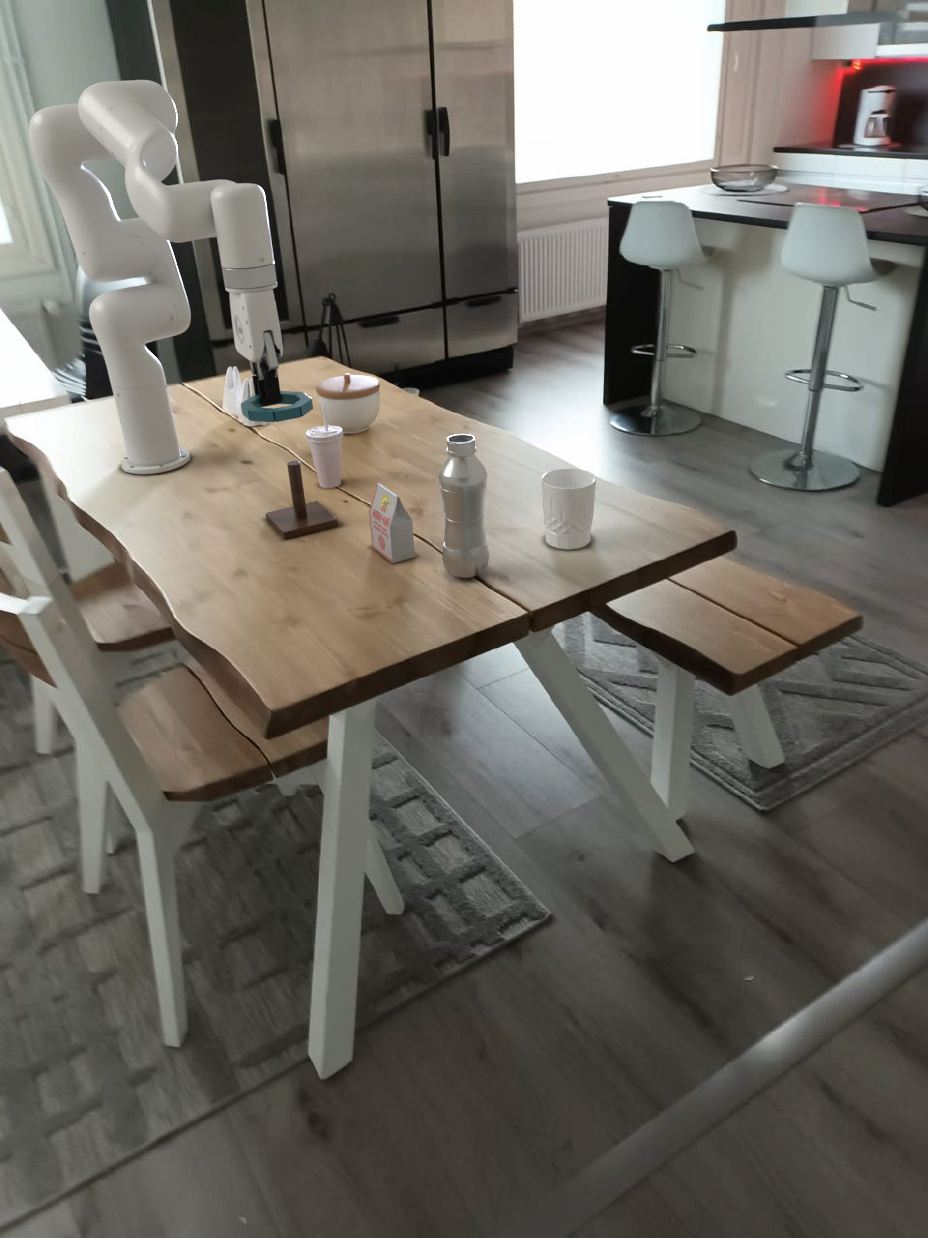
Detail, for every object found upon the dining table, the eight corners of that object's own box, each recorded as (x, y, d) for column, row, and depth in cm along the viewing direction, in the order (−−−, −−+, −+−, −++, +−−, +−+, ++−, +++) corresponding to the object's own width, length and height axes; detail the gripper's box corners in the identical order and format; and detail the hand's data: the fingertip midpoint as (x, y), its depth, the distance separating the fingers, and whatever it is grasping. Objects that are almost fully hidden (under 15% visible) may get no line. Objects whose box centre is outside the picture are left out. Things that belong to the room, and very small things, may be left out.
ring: (236, 409, 145) (234, 398, 145) (298, 397, 149) (296, 387, 148) (255, 426, 138) (254, 415, 137) (320, 413, 142) (319, 402, 141)
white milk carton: (393, 540, 145) (388, 479, 140) (414, 556, 140) (410, 494, 135) (372, 547, 144) (366, 485, 139) (392, 563, 139) (387, 500, 134)
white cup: (580, 555, 138) (581, 492, 133) (532, 545, 142) (532, 482, 137) (602, 535, 144) (605, 473, 139) (556, 525, 148) (557, 464, 143)
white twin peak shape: (222, 416, 203) (213, 365, 197) (240, 412, 205) (231, 360, 200) (250, 429, 195) (241, 375, 189) (268, 424, 197) (259, 371, 191)
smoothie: (341, 491, 164) (332, 412, 156) (306, 490, 165) (296, 411, 158) (353, 477, 169) (344, 400, 162) (318, 476, 170) (309, 400, 163)
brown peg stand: (266, 519, 155) (256, 460, 149) (318, 507, 158) (310, 448, 153) (284, 539, 148) (275, 477, 143) (338, 525, 151) (331, 465, 146)
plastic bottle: (441, 564, 138) (433, 432, 128) (487, 560, 138) (483, 428, 128) (444, 585, 132) (436, 448, 122) (492, 581, 133) (488, 445, 123)
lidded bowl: (395, 423, 194) (391, 369, 189) (357, 442, 185) (351, 386, 180) (347, 414, 200) (341, 362, 195) (308, 432, 191) (301, 378, 186)
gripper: (210, 273, 142) (231, 394, 151) (240, 289, 130) (261, 419, 139) (258, 266, 145) (276, 385, 154) (292, 281, 133) (309, 410, 142)
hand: (268, 401), depth 146 cm, fingers closed on ring, 1 cm apart
